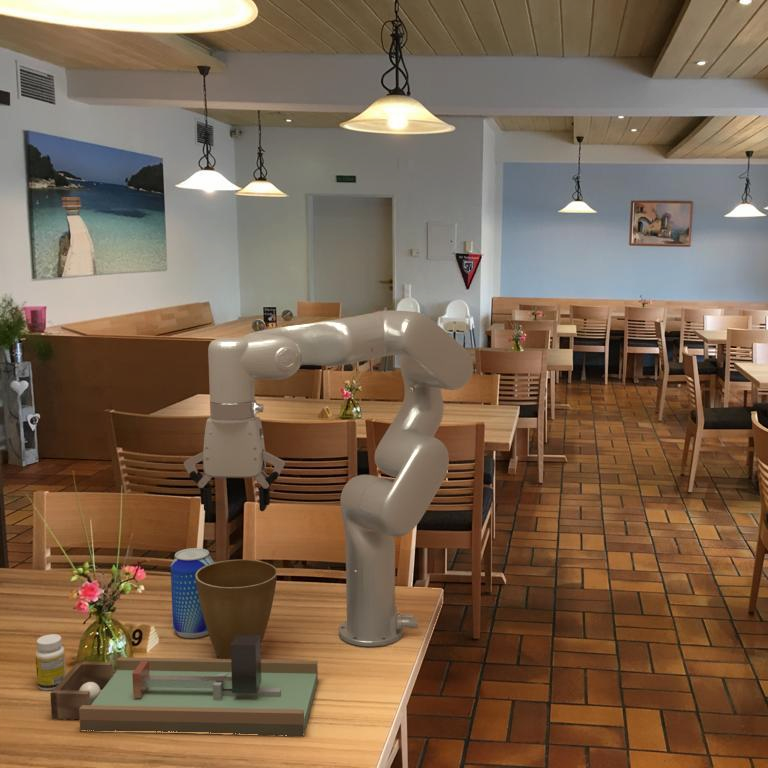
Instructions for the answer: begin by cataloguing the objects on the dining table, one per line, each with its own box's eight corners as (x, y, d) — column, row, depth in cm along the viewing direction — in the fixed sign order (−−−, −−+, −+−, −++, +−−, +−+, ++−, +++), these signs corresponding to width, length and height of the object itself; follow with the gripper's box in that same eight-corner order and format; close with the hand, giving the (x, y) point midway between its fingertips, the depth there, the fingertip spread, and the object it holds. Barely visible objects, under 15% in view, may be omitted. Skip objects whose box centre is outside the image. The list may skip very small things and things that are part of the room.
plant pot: (216, 680, 154) (213, 593, 152) (186, 649, 166) (183, 568, 164) (292, 659, 162) (291, 576, 160) (259, 631, 174) (257, 553, 172)
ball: (98, 701, 148) (107, 684, 148) (90, 711, 145) (99, 694, 144) (79, 691, 148) (88, 674, 148) (71, 701, 145) (80, 684, 144)
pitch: (317, 681, 153) (317, 656, 153) (303, 736, 136) (302, 708, 135) (120, 677, 155) (119, 652, 155) (80, 731, 137) (78, 704, 137)
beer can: (221, 623, 178) (219, 547, 176) (209, 640, 170) (206, 561, 168) (181, 621, 179) (178, 545, 177) (167, 639, 171) (163, 560, 169)
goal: (113, 686, 152) (112, 662, 151) (88, 720, 141) (87, 694, 140) (79, 686, 152) (78, 661, 152) (51, 719, 141) (50, 693, 140)
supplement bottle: (42, 678, 155) (39, 633, 154) (69, 677, 155) (67, 632, 154) (33, 692, 150) (30, 645, 149) (62, 690, 151) (59, 644, 149)
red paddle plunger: (262, 686, 147) (260, 633, 146) (256, 700, 142) (254, 646, 141) (142, 683, 148) (140, 631, 147) (133, 697, 143) (130, 644, 142)
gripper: (286, 407, 153) (288, 503, 155) (188, 407, 154) (192, 502, 156) (279, 415, 145) (281, 515, 148) (176, 414, 146) (180, 514, 149)
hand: (235, 508), depth 152 cm, fingers open, 9 cm apart
